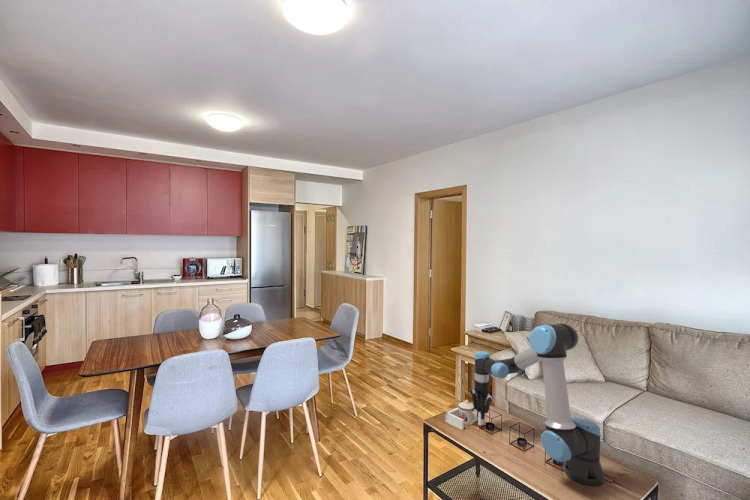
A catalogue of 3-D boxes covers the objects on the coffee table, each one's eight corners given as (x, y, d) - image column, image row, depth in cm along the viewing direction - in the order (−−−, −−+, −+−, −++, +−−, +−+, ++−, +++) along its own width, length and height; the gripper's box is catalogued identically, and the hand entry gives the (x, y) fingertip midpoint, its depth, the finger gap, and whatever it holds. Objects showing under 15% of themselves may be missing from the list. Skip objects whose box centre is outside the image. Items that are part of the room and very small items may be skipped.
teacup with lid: (454, 420, 201) (454, 399, 201) (465, 416, 206) (465, 396, 206) (471, 429, 191) (471, 407, 191) (482, 424, 196) (482, 403, 196)
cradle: (482, 419, 203) (482, 410, 203) (462, 429, 190) (462, 420, 190) (465, 412, 211) (465, 403, 211) (444, 421, 199) (445, 412, 199)
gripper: (496, 382, 190) (495, 426, 190) (475, 375, 200) (474, 417, 200) (488, 385, 185) (487, 431, 185) (467, 378, 195) (466, 421, 195)
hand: (480, 424), depth 193 cm, fingers closed
